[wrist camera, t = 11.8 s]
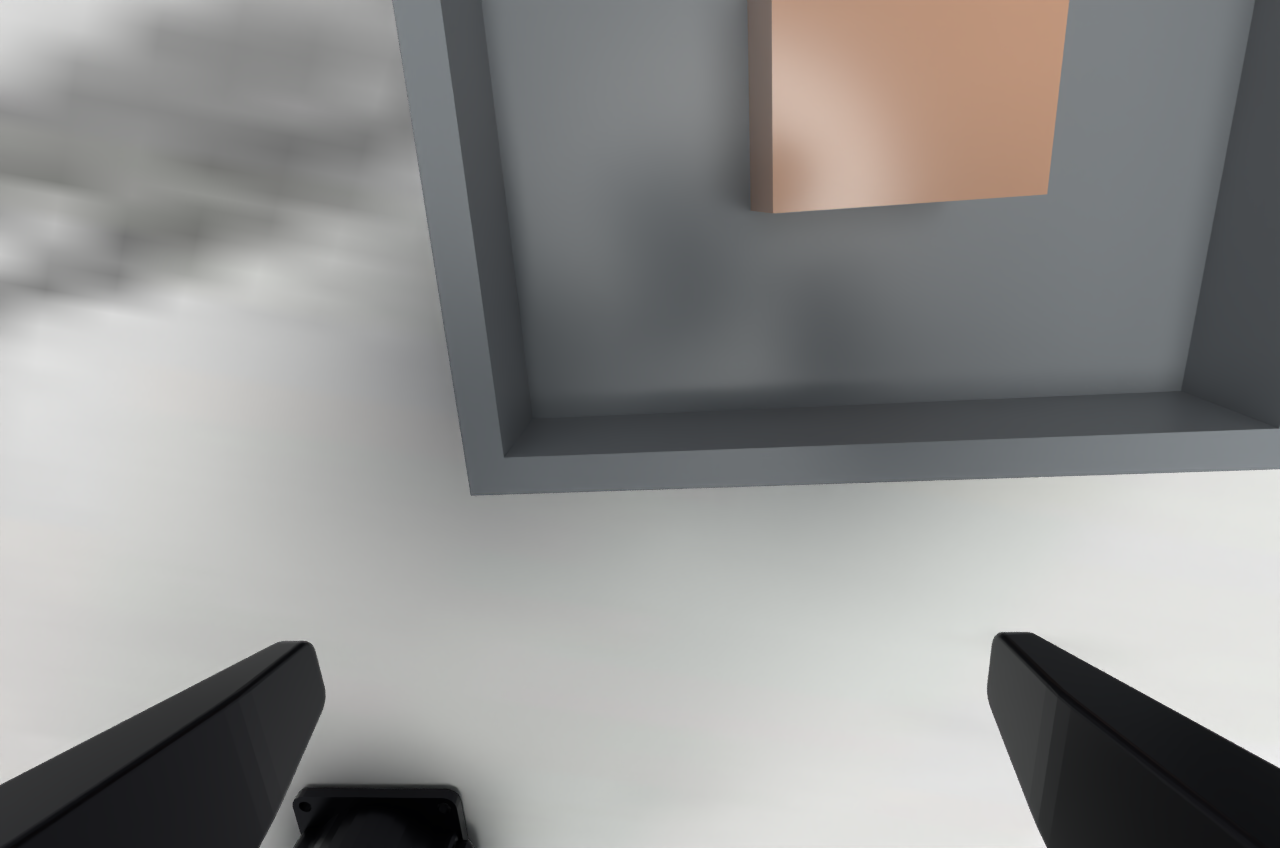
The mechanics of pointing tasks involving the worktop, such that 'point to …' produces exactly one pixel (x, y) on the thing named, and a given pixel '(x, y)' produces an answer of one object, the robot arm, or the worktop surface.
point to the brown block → (901, 100)
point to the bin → (842, 262)
